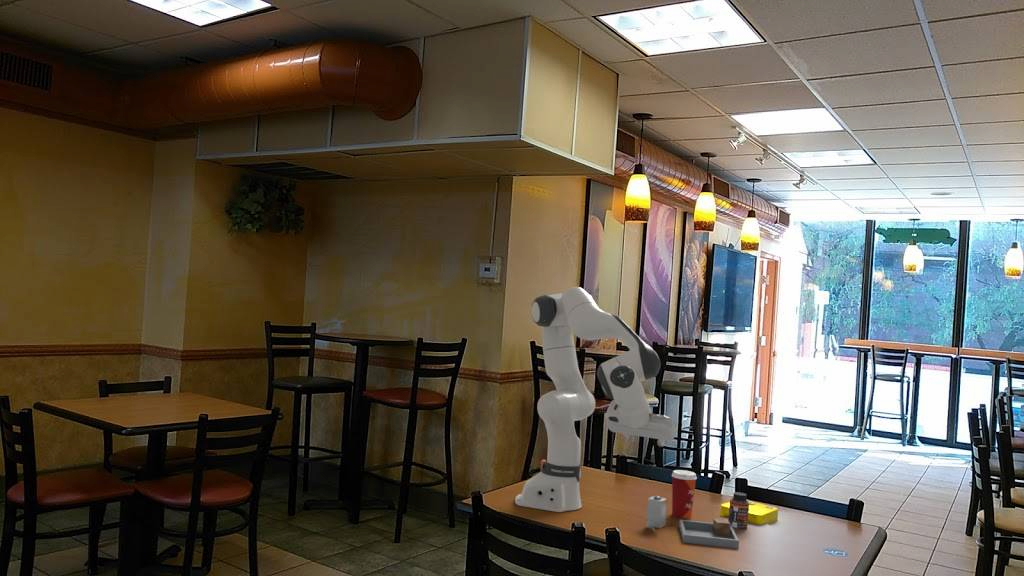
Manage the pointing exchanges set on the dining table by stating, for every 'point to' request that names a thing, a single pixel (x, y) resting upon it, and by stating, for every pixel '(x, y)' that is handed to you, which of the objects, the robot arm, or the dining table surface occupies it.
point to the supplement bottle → (738, 511)
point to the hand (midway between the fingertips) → (646, 442)
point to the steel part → (656, 512)
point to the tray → (706, 534)
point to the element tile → (755, 512)
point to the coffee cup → (683, 493)
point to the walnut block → (721, 527)
